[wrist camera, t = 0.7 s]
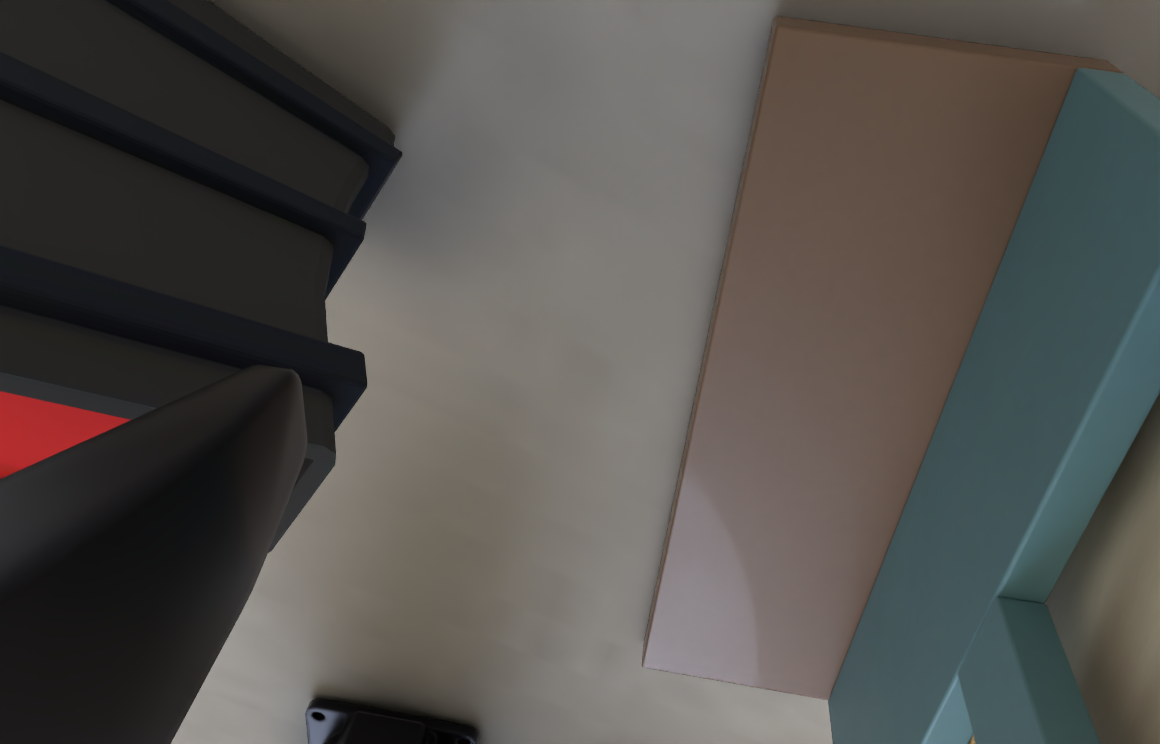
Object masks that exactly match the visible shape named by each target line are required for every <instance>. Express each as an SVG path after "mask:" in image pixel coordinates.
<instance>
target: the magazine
mask: <svg viewBox="0 0 1160 744" xmlns="http://www.w3.org/2000/svg"><path fill="white" fill-rule="evenodd" d="M394 141H395V135H394V134H393V133H392V132H391V130H390V129H389V128H388V127H386V126H385V125H383V124H382V123H380V122H379V121H378V120H376V119H375V118H373V117H372V116H371V115H369V114H368V113H366V112H365V111H363V110H362V109H361V108H359V107H358V106H356V105H355V104H354V103H352V102H351V101H349V100H348V99H347V98H345V97H344V96H342V95H341V94H339V93H338V92H337V91H335V90H334V89H332V88H331V87H330V86H328V85H327V84H325V83H324V82H322V81H321V80H320V79H318V78H317V77H315V76H314V75H313V74H311V73H310V72H308V71H307V70H306V69H304V68H303V67H301V66H300V65H298V64H297V63H296V62H294V61H293V60H291V59H290V58H289V57H287V56H286V55H284V54H283V53H281V52H280V51H279V50H277V49H276V48H274V47H273V46H272V45H270V44H269V43H267V42H266V41H265V40H263V39H262V38H260V37H259V36H257V35H256V34H255V33H253V32H252V31H250V30H249V29H248V28H246V27H245V26H243V25H242V24H240V23H239V22H238V21H236V20H235V19H233V18H232V17H231V16H229V15H228V14H226V13H225V12H223V11H222V10H221V9H219V8H218V7H216V6H215V5H214V4H212V3H211V2H209V1H208V0H0V479H1V478H4V477H6V476H8V475H10V474H12V473H15V472H17V471H19V470H21V469H24V468H26V467H28V466H30V465H32V464H35V463H37V462H39V461H41V460H44V459H46V458H48V457H50V456H52V455H55V454H57V453H59V452H61V451H64V450H66V449H68V448H70V447H72V446H75V445H77V444H79V443H81V442H84V441H86V440H88V439H90V438H92V437H95V436H97V435H99V434H101V433H104V432H106V431H108V430H110V429H112V428H115V427H117V426H119V425H121V424H124V423H126V422H128V421H130V420H132V419H135V418H137V417H139V416H141V415H144V414H146V413H148V412H150V411H152V410H155V409H157V408H159V407H161V406H164V405H166V404H168V403H170V402H172V401H175V400H177V399H179V398H181V397H183V396H186V395H188V394H190V393H192V392H195V391H197V390H199V389H201V388H203V387H206V386H208V385H210V384H212V383H215V382H217V381H219V380H221V379H223V378H226V377H228V376H230V375H232V374H234V373H237V372H239V371H241V370H243V369H246V368H248V367H250V366H253V365H266V366H273V367H280V368H286V369H292V370H294V371H295V372H296V373H297V374H298V375H299V378H300V380H301V384H302V392H303V402H304V412H305V421H306V431H307V449H306V454H305V458H304V462H303V465H302V467H301V470H300V472H299V475H298V477H297V480H296V482H295V485H294V487H293V490H292V492H291V495H290V497H289V500H288V503H287V505H286V508H285V510H284V513H283V515H282V518H281V520H280V523H279V525H278V528H277V530H276V533H275V536H274V538H273V541H272V543H271V546H270V548H269V551H268V553H269V552H270V551H272V549H273V548H274V547H275V545H276V544H277V543H278V541H279V540H280V539H281V537H282V536H283V535H284V533H285V532H286V530H287V529H288V528H289V526H290V525H291V524H292V522H293V521H294V520H295V518H296V517H297V516H298V514H299V513H300V512H301V510H302V509H303V507H304V506H305V505H306V503H307V502H308V501H309V499H310V498H311V497H312V495H313V494H314V493H315V491H316V490H317V488H318V487H319V486H320V484H321V483H322V482H323V480H324V479H325V478H326V476H327V475H328V474H329V472H330V471H331V470H332V468H333V467H334V465H335V460H336V448H335V434H334V433H335V431H336V430H337V428H338V427H339V426H340V424H341V423H342V421H343V420H344V419H345V417H346V416H347V414H348V413H349V412H350V410H351V409H352V407H353V406H354V405H355V403H356V402H357V401H358V399H359V398H360V396H361V395H362V394H363V392H364V391H365V389H366V388H367V377H366V367H365V358H364V354H363V353H361V352H359V351H356V350H352V349H349V348H345V347H342V346H339V345H335V344H332V343H329V342H328V337H327V324H326V310H325V300H326V298H327V297H328V295H329V293H330V292H331V290H332V289H333V287H334V285H335V284H336V282H337V281H338V279H339V278H340V276H341V274H342V273H343V271H344V270H345V268H346V267H347V265H348V263H349V262H350V260H351V259H352V257H353V256H354V254H355V252H356V251H357V249H358V248H359V246H360V244H361V243H362V241H363V240H364V235H365V230H366V223H365V222H364V221H362V219H363V217H364V216H365V214H366V213H367V211H368V209H369V208H370V206H371V205H372V203H373V201H374V200H375V198H376V197H377V195H378V193H379V192H380V190H381V189H382V187H383V185H384V184H385V182H386V181H387V179H388V177H389V176H390V174H391V173H392V171H393V169H394V168H395V166H396V165H397V163H398V161H399V160H400V158H401V157H402V152H401V151H400V150H398V149H397V148H395V147H394Z"/></svg>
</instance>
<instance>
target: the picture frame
mask: <svg viewBox="0 0 1160 744" xmlns="http://www.w3.org/2000/svg"><path fill="white" fill-rule="evenodd" d="M1045 605H1046V606H1047V608H1048V610H1049V613H1050V615H1051V618H1052V620H1053V623H1054V625H1055V628H1056V631H1057V633H1058V636H1059V638H1060V641H1061V643H1062V646H1063V648H1064V651H1065V654H1066V656H1067V659H1068V661H1069V664H1070V666H1071V669H1072V672H1073V674H1074V677H1075V679H1076V682H1077V684H1078V687H1079V689H1080V692H1081V695H1082V697H1083V700H1084V702H1085V705H1086V707H1087V710H1088V712H1089V715H1090V718H1091V720H1092V723H1093V725H1094V728H1095V730H1096V733H1097V735H1098V738H1099V741H1100V743H1101V744H1160V393H1159V395H1158V397H1157V399H1156V401H1155V402H1154V404H1153V406H1152V408H1151V410H1150V412H1149V413H1148V415H1147V417H1146V419H1145V421H1144V423H1143V424H1142V426H1141V428H1140V430H1139V432H1138V434H1137V435H1136V437H1135V439H1134V441H1133V443H1132V445H1131V446H1130V448H1129V450H1128V452H1127V454H1126V456H1125V457H1124V459H1123V461H1122V463H1121V465H1120V466H1119V468H1118V470H1117V472H1116V474H1115V476H1114V477H1113V479H1112V481H1111V483H1110V485H1109V487H1108V488H1107V490H1106V492H1105V494H1104V496H1103V498H1102V499H1101V501H1100V503H1099V505H1098V507H1097V509H1096V510H1095V512H1094V514H1093V516H1092V518H1091V520H1090V521H1089V523H1088V525H1087V527H1086V529H1085V531H1084V532H1083V534H1082V536H1081V538H1080V540H1079V542H1078V543H1077V545H1076V547H1075V549H1074V551H1073V553H1072V554H1071V556H1070V558H1069V560H1068V562H1067V564H1066V565H1065V567H1064V569H1063V571H1062V573H1061V575H1060V576H1059V578H1058V580H1057V582H1056V584H1055V586H1054V587H1053V589H1052V591H1051V593H1050V595H1049V596H1048V598H1047V600H1046V602H1045ZM968 744H976V742H975V738H974V735H973V736H972V737H971V739H970V741H969V743H968Z"/></svg>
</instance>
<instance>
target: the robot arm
mask: <svg viewBox="0 0 1160 744" xmlns="http://www.w3.org/2000/svg"><path fill="white" fill-rule="evenodd" d="M306 449H307V431H306V421H305V412H304V402H303V392H302V384H301V380H300V378H299V375H298V374H297V373H296V372H295V371H294V370H292V369H286V368H280V367H273V366H266V365H253V366H250V367H248V368H246V369H243V370H241V371H239V372H237V373H234V374H232V375H230V376H228V377H226V378H223V379H221V380H219V381H217V382H215V383H212V384H210V385H208V386H206V387H203V388H201V389H199V390H197V391H195V392H192V393H190V394H188V395H186V396H183V397H181V398H179V399H177V400H175V401H172V402H170V403H168V404H166V405H164V406H161V407H159V408H157V409H155V410H152V411H150V412H148V413H146V414H144V415H141V416H139V417H137V418H135V419H132V420H130V421H128V422H126V423H124V424H121V425H119V426H117V427H115V428H112V429H110V430H108V431H106V432H104V433H101V434H99V435H97V436H95V437H92V438H90V439H88V440H86V441H84V442H81V443H79V444H77V445H75V446H72V447H70V448H68V449H66V450H64V451H61V452H59V453H57V454H55V455H52V456H50V457H48V458H46V459H44V460H41V461H39V462H37V463H35V464H32V465H30V466H28V467H26V468H24V469H21V470H19V471H17V472H15V473H12V474H10V475H8V476H6V477H4V478H1V479H0V744H171V742H172V740H173V738H174V736H175V734H176V732H177V731H178V729H179V727H180V725H181V723H182V721H183V719H184V718H185V716H186V714H187V712H188V710H189V708H190V706H191V705H192V703H193V701H194V699H195V697H196V695H197V693H198V692H199V690H200V688H201V686H202V684H203V682H204V680H205V679H206V677H207V675H208V673H209V671H210V669H211V667H212V666H213V664H214V662H215V660H216V658H217V656H218V654H219V653H220V651H221V649H222V647H223V645H224V643H225V641H226V640H227V638H228V636H229V634H230V632H231V630H232V628H233V627H234V625H235V623H236V621H237V619H238V617H239V615H240V614H241V612H242V610H243V608H244V606H245V604H246V602H247V600H248V598H249V596H250V594H251V592H252V590H253V587H254V585H255V583H256V580H257V578H258V576H259V573H260V571H261V569H262V566H263V563H264V561H265V558H266V556H267V553H268V551H269V548H270V546H271V543H272V541H273V538H274V536H275V533H276V530H277V528H278V525H279V523H280V520H281V518H282V515H283V513H284V510H285V508H286V505H287V503H288V500H289V497H290V495H291V492H292V490H293V487H294V485H295V482H296V480H297V477H298V475H299V472H300V470H301V467H302V465H303V462H304V458H305V454H306ZM306 724H307V734H308V744H479V733H478V731H477V730H476V729H474V728H473V727H470V726H467V725H462V724H456V723H451V722H445V721H440V720H434V719H429V718H424V717H418V716H413V715H407V714H402V713H396V712H391V711H385V710H380V709H374V708H369V707H363V706H358V705H352V704H347V703H341V702H336V701H331V700H325V699H314V700H312V701H311V702H310V704H309V706H308V708H307V710H306Z"/></svg>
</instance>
